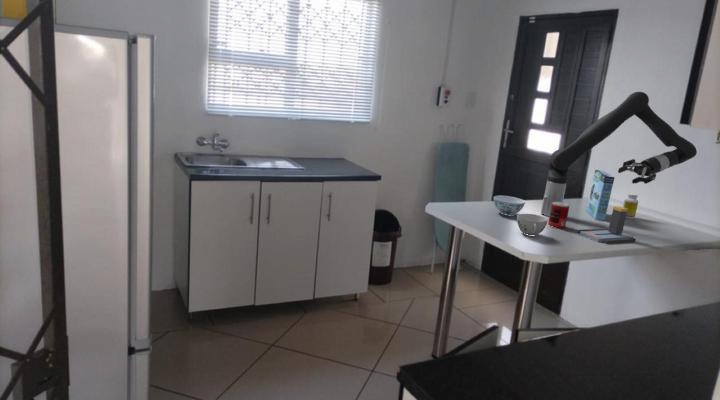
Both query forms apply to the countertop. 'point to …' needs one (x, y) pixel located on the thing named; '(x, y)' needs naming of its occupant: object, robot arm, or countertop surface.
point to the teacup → (531, 223)
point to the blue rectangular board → (603, 235)
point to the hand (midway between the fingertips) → (625, 176)
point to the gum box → (600, 195)
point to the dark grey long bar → (619, 240)
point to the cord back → (592, 230)
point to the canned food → (558, 214)
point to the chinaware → (508, 204)
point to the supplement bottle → (631, 205)
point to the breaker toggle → (617, 219)
